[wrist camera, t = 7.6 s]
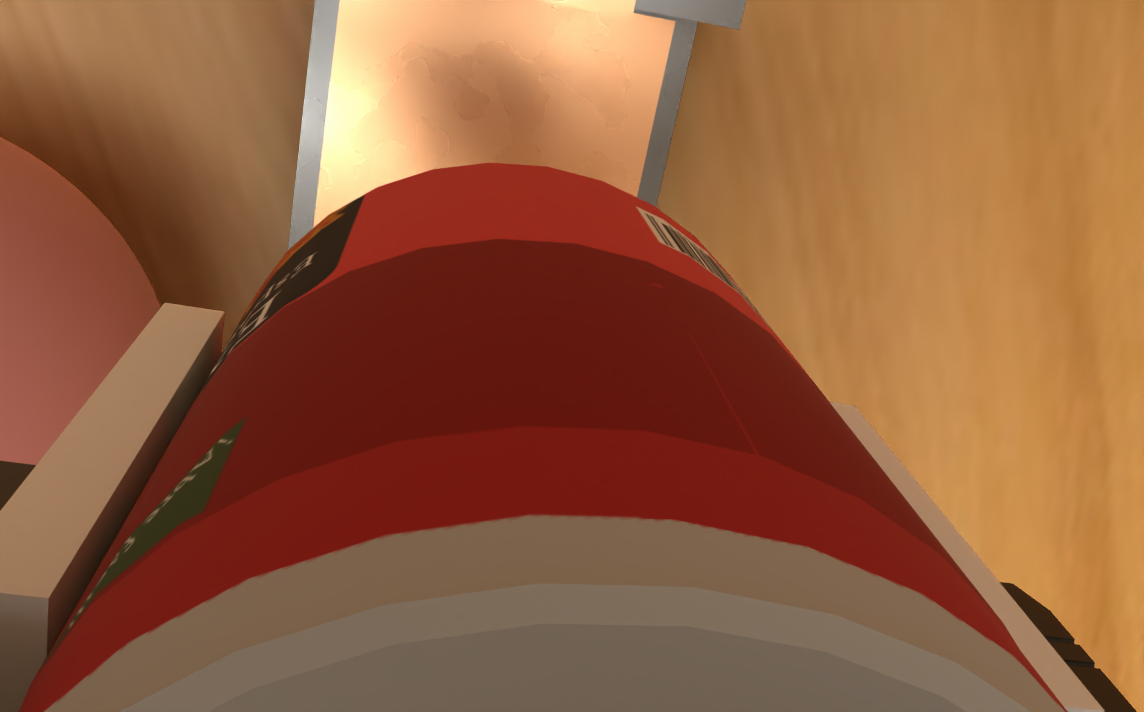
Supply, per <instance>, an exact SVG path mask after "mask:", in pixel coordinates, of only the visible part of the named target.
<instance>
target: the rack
mask: <svg viewBox="0 0 1144 712" xmlns="http://www.w3.org/2000/svg"><path fill="white" fill-rule="evenodd" d="M745 4H746V0H315V5H314V14H313V24H312V33H311V42H310V51H309V60H308V69H307V79H306V88H305V97H304V106H303V115H302V124H301V134H300V143H299V152H298V161H297V170H296V179H295V189H294V198H293V207H292V216H291V225H290V234H289V244H288V250H289V249H290V248H291V247H292V246H293V245H294V244H296V243H297V242H298V241H299V240H300V239H301V238H302V237H304V236H305V235H306V234H307V233H308V232H309V231H310V230H312V229H313V228H314V227H315V226H316V225H317V224H318V223H320V222H321V221H322V220H323V219H324V218H325V217H326V216H327V215H329V214H330V213H332V212H334V211H336V210H338V209H339V208H341V207H343V206H345V205H346V204H348V203H350V202H352V201H354V200H355V199H357V198H359V197H361V196H362V195H364V194H366V193H368V192H370V191H371V190H373V189H375V188H377V187H379V186H382V185H385V184H389V183H392V182H395V181H398V180H401V179H404V178H407V177H410V176H413V175H416V174H419V173H423V172H426V171H429V170H432V169H440V168H448V167H457V166H465V165H473V164H481V163H504V164H519V165H533V166H548V167H551V168H555V169H559V170H563V171H567V172H570V173H574V174H578V175H582V176H586V177H589V178H593V179H597V180H601V181H604V182H606V183H608V184H610V185H612V186H614V187H616V188H618V189H621V190H623V191H625V192H627V193H629V194H631V195H633V196H635V197H637V198H639V199H641V200H643V201H646V202H648V203H650V204H652V205H654V206H655V207H656V204H657V200H658V196H659V191H660V187H661V182H662V178H663V174H664V169H665V165H666V160H667V156H668V152H669V147H670V143H671V138H672V134H673V129H674V125H675V121H676V116H677V112H678V107H679V103H680V99H681V94H682V90H683V85H684V81H685V77H686V72H687V68H688V63H689V59H690V55H691V50H692V46H693V41H694V37H695V33H696V28H697V24H698V22H703V23H708V24H713V25H718V26H723V27H728V28H733V29H738V30H739V29H740V25H741V21H742V17H743V13H744V9H745Z"/></svg>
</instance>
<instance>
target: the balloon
mask: <svg viewBox="0 0 1144 712" xmlns="http://www.w3.org/2000/svg"><path fill="white" fill-rule="evenodd" d="M160 308H161V307H160V304H159V301H158V299H157V296H156V294H155V292H154V289H153V287H152V285H151V283H150V281H149V279H148V277H147V275H146V273H145V272H144V270H143V268H142V266H141V265H140V263H139V261H138V260H137V258H136V256H135V255H134V253H133V252H132V250H131V249H130V247H129V246H128V244H127V243H126V241H125V240H124V239H123V237H122V236H121V235H120V233H119V232H118V231H117V230H116V228H115V227H114V226H113V225H112V224H111V222H110V221H109V220H108V219H107V218H106V217H105V215H104V214H103V213H102V212H101V211H100V210H99V209H98V208H97V207H96V206H95V205H94V204H93V203H92V202H91V201H90V200H89V199H88V198H87V197H86V196H85V195H84V194H83V193H82V192H81V191H80V190H78V189H77V188H76V187H75V186H74V185H73V184H71V183H70V182H69V181H68V180H67V179H65V178H64V177H63V176H62V175H60V174H59V173H58V172H56V171H55V170H54V169H52V168H51V167H50V166H48V165H47V164H45V163H44V162H43V161H41V160H39V159H38V158H36V157H35V156H33V155H32V154H30V153H28V152H27V151H25V150H23V149H22V148H20V147H18V146H16V145H15V144H13V143H11V142H9V141H7V140H5V139H3V138H1V137H0V461H7V462H15V463H23V464H31V465H37V464H38V463H39V461H40V460H41V459H42V457H43V456H44V455H45V454H46V452H47V451H48V450H49V449H50V447H51V446H52V445H53V444H54V442H55V441H56V440H57V438H58V437H59V436H60V435H61V433H62V432H63V431H64V430H65V428H66V427H67V426H68V425H69V423H70V422H71V421H72V419H73V418H74V417H75V416H76V414H77V413H78V412H79V411H80V409H81V408H82V407H83V406H84V404H85V403H86V402H87V400H88V399H89V398H90V397H91V395H92V394H93V393H94V392H95V390H96V389H97V388H98V387H99V385H100V384H101V383H102V381H103V380H104V379H105V378H106V376H107V375H108V374H109V373H110V371H111V370H112V369H113V368H114V366H115V365H116V364H117V362H118V361H119V360H120V359H121V357H122V356H123V355H124V354H125V352H126V351H127V350H128V349H129V347H130V346H131V345H132V343H133V342H134V341H135V340H136V338H137V337H138V336H139V335H140V333H141V332H142V331H143V330H144V328H145V327H146V326H147V324H148V323H149V322H150V321H151V319H152V318H153V317H154V316H155V314H156V313H157V312H158V311H159V309H160Z"/></svg>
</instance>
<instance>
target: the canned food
mask: <svg viewBox="0 0 1144 712" xmlns="http://www.w3.org/2000/svg"><path fill="white" fill-rule="evenodd" d="M19 712H1068V711H1067V710H1066V709H1065V708H1064V706H1063V705H1062V704H1061V702H1060V701H1059V700H1058V698H1057V697H1056V696H1055V695H1054V693H1053V692H1052V691H1051V689H1050V688H1049V687H1048V686H1047V684H1046V683H1045V682H1044V680H1043V679H1042V678H1041V676H1040V675H1039V674H1038V673H1037V671H1036V670H1035V669H1034V667H1033V666H1032V665H1031V663H1030V662H1029V661H1028V660H1027V658H1026V657H1025V656H1024V654H1023V653H1022V652H1021V651H1020V649H1019V647H1018V646H1017V644H1016V643H1015V641H1014V639H1013V638H1012V636H1011V635H1010V633H1009V631H1008V630H1007V628H1006V627H1005V625H1004V623H1003V622H1002V621H1001V619H1000V618H999V617H998V616H997V614H996V613H995V612H994V611H993V609H992V608H991V607H990V606H989V604H988V603H987V602H986V600H985V599H984V598H983V597H982V595H981V594H980V593H979V592H978V590H977V589H976V588H975V586H974V585H973V584H972V583H971V581H970V580H969V579H968V578H967V576H966V575H965V574H964V572H963V571H962V570H961V569H960V567H959V566H958V565H957V564H956V562H955V561H954V560H953V559H952V557H951V556H950V555H949V553H948V552H947V551H946V550H945V548H944V547H943V546H942V545H941V543H940V542H939V541H938V539H937V538H936V537H935V536H934V534H933V533H932V532H931V531H930V529H929V528H928V527H927V525H926V524H925V523H924V522H923V520H922V519H921V518H920V517H919V515H918V514H917V513H916V511H915V510H914V509H913V508H912V506H911V505H910V504H909V503H908V501H907V500H906V499H905V498H904V496H903V495H902V494H901V492H900V491H899V490H898V489H897V487H896V486H895V485H894V484H893V482H892V481H891V480H890V478H889V477H888V476H887V475H886V473H885V472H884V471H883V470H882V468H881V467H880V466H879V464H878V463H877V462H876V461H875V459H874V458H873V457H872V456H871V454H870V453H869V452H868V451H867V449H866V448H865V447H864V445H863V444H862V443H861V442H860V440H859V439H858V438H857V437H856V435H855V434H854V433H853V431H852V430H851V429H850V428H849V426H848V425H847V424H846V423H845V421H844V420H843V419H842V417H841V416H840V415H839V414H838V412H837V411H836V410H835V409H834V407H833V406H832V405H831V403H830V402H829V401H828V400H827V398H826V397H825V396H824V395H823V393H822V392H821V391H820V390H819V388H818V387H817V386H816V384H815V383H814V382H813V381H812V379H811V378H810V377H809V376H808V374H807V373H806V372H805V370H804V369H803V368H802V367H801V365H800V364H799V363H798V362H797V360H796V359H795V358H794V356H793V355H792V354H791V353H790V351H789V350H788V349H787V348H786V346H785V345H784V344H783V343H782V341H781V340H780V339H779V337H778V336H777V335H776V334H775V332H774V331H773V330H772V329H771V327H770V326H769V325H768V323H767V322H766V321H765V320H764V318H763V317H762V316H761V315H760V313H759V312H758V311H757V309H756V308H755V307H754V306H753V304H752V303H751V302H750V301H749V299H748V298H747V297H746V295H745V294H744V293H743V292H742V290H741V289H740V288H739V287H738V285H737V284H736V283H735V282H734V280H733V279H732V278H731V276H730V275H729V274H728V273H727V272H726V271H725V270H724V268H723V267H722V266H721V265H720V264H719V263H718V262H717V261H716V259H715V258H714V257H713V256H712V255H711V254H710V253H709V252H708V250H707V249H706V248H705V247H704V246H703V245H702V244H701V242H700V241H699V240H698V239H697V238H696V237H695V236H694V235H692V234H691V233H690V232H688V231H687V230H686V229H684V228H683V227H682V226H680V225H679V224H678V223H676V222H675V221H674V220H672V219H671V218H670V217H668V216H667V215H666V214H664V213H663V212H662V211H660V210H659V209H658V208H656V207H655V206H654V205H652V204H650V203H648V202H646V201H643V200H641V199H639V198H637V197H635V196H633V195H631V194H629V193H627V192H625V191H623V190H621V189H618V188H616V187H614V186H612V185H610V184H608V183H606V182H604V181H601V180H597V179H593V178H589V177H586V176H582V175H578V174H574V173H570V172H567V171H563V170H559V169H555V168H551V167H548V166H533V165H519V164H504V163H481V164H473V165H465V166H457V167H448V168H440V169H432V170H429V171H426V172H423V173H419V174H416V175H413V176H410V177H407V178H404V179H401V180H398V181H395V182H392V183H389V184H385V185H382V186H379V187H377V188H375V189H373V190H371V191H370V192H368V193H366V194H364V195H362V196H361V197H359V198H357V199H355V200H354V201H352V202H350V203H348V204H346V205H345V206H343V207H341V208H339V209H338V210H336V211H334V212H332V213H330V214H329V215H327V216H326V217H325V218H324V219H323V220H322V221H321V222H320V223H318V224H317V225H316V226H315V227H314V228H313V229H312V230H310V231H309V232H308V233H307V234H306V235H305V236H304V237H302V238H301V239H300V240H299V241H298V242H297V243H296V244H294V245H293V246H292V247H291V248H290V249H289V250H288V251H287V252H286V254H285V255H284V256H283V258H282V259H281V260H280V262H279V263H278V264H277V266H276V267H275V269H274V270H273V271H272V273H271V274H270V275H269V277H268V278H267V279H266V281H265V282H264V284H263V285H262V286H261V288H260V289H259V290H258V292H257V293H256V295H255V297H254V298H253V300H252V302H251V304H250V305H249V307H248V309H247V311H246V312H245V314H244V316H243V318H242V319H241V321H240V323H239V324H238V326H237V328H236V330H235V331H234V333H233V335H232V337H231V338H230V340H229V342H228V344H227V345H226V347H225V349H224V350H223V352H222V354H221V356H220V357H219V359H218V361H217V363H216V364H215V366H214V368H213V370H212V371H211V373H210V375H209V376H208V378H207V380H206V382H205V383H204V385H203V387H202V389H201V390H200V392H199V394H198V395H197V397H196V399H195V401H194V402H193V404H192V406H191V408H190V409H189V411H188V413H187V415H186V416H185V418H184V420H183V421H182V423H181V425H180V427H179V428H178V430H177V432H176V434H175V435H174V437H173V439H172V441H171V442H170V444H169V446H168V447H167V449H166V451H165V453H164V454H163V456H162V458H161V460H160V461H159V463H158V465H157V467H156V468H155V470H154V472H153V473H152V475H151V477H150V479H149V480H148V482H147V484H146V486H145V487H144V489H143V491H142V492H141V494H140V496H139V498H138V499H137V501H136V503H135V505H134V506H133V508H132V510H131V512H130V513H129V515H128V517H127V518H126V520H125V522H124V524H123V525H122V527H121V529H120V531H119V532H118V534H117V536H116V538H115V539H114V541H113V543H112V544H111V546H110V548H109V550H108V551H107V553H106V555H105V557H104V558H103V560H102V562H101V564H100V565H99V567H98V569H97V570H96V572H95V574H94V576H93V577H92V579H91V581H90V583H89V584H88V586H87V588H86V590H85V591H84V593H83V595H82V596H81V598H80V600H79V602H78V603H77V605H76V607H75V609H74V610H73V612H72V614H71V615H70V617H69V619H68V621H67V622H66V624H65V626H64V628H63V629H62V631H61V633H60V635H59V636H58V638H57V640H56V641H55V643H54V645H53V647H52V648H51V650H50V652H49V654H48V655H47V657H46V659H45V661H44V662H43V664H42V666H41V667H40V669H39V671H38V673H37V674H36V676H35V678H34V680H33V681H32V683H31V685H30V687H29V689H28V692H27V694H26V696H25V699H24V701H23V703H22V706H21V708H20V710H19Z"/></svg>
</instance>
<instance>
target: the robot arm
mask: <svg viewBox="0 0 1144 712" xmlns="http://www.w3.org/2000/svg"><path fill="white" fill-rule="evenodd" d="M224 315H225V312H224V311H218V310H211V309H204V308H198V307H191V306H184V305H177V304H171V303H164V304H163V305H162V307H161V308H160V309H159V311H158V312H157V313H156V314H155V316H154V317H153V318H152V319H151V321H150V322H149V323H148V324H147V326H146V327H145V328H144V330H143V331H142V332H141V333H140V335H139V336H138V337H137V338H136V340H135V341H134V342H133V343H132V345H131V346H130V347H129V349H128V350H127V351H126V352H125V354H124V355H123V356H122V357H121V359H120V360H119V361H118V362H117V364H116V365H115V366H114V368H113V369H112V370H111V371H110V373H109V374H108V375H107V376H106V378H105V379H104V380H103V381H102V383H101V384H100V385H99V387H98V388H97V389H96V390H95V392H94V393H93V394H92V395H91V397H90V398H89V399H88V400H87V402H86V403H85V404H84V406H83V407H82V408H81V409H80V411H79V412H78V413H77V414H76V416H75V417H74V418H73V419H72V421H71V422H70V423H69V425H68V426H67V427H66V428H65V430H64V431H63V432H62V433H61V435H60V436H59V437H58V438H57V440H56V441H55V442H54V444H53V445H52V446H51V447H50V449H49V450H48V451H47V452H46V454H45V455H44V456H43V457H42V459H41V460H40V461H39V463H38V464H37V465H31V464H23V463H15V462H7V461H0V712H19V710H20V708H21V706H22V703H23V701H24V699H25V696H26V694H27V692H28V689H29V687H30V685H31V683H32V681H33V680H34V678H35V676H36V674H37V673H38V671H39V669H40V667H41V666H42V664H43V662H44V661H45V659H46V657H47V655H48V654H49V652H50V650H51V648H52V647H53V645H54V643H55V641H56V640H57V638H58V636H59V635H60V633H61V631H62V629H63V628H64V626H65V624H66V622H67V621H68V619H69V617H70V615H71V614H72V612H73V610H74V609H75V607H76V605H77V603H78V602H79V600H80V598H81V596H82V595H83V593H84V591H85V590H86V588H87V586H88V584H89V583H90V581H91V579H92V577H93V576H94V574H95V572H96V570H97V569H98V567H99V565H100V564H101V562H102V560H103V558H104V557H105V555H106V553H107V551H108V550H109V548H110V546H111V544H112V543H113V541H114V539H115V538H116V536H117V534H118V532H119V531H120V529H121V527H122V525H123V524H124V522H125V520H126V518H127V517H128V515H129V513H130V512H131V510H132V508H133V506H134V505H135V503H136V501H137V499H138V498H139V496H140V494H141V492H142V491H143V489H144V487H145V486H146V484H147V482H148V480H149V479H150V477H151V475H152V473H153V472H154V470H155V468H156V467H157V465H158V463H159V461H160V460H161V458H162V456H163V454H164V453H165V451H166V449H167V447H168V446H169V444H170V442H171V441H172V439H173V437H174V435H175V434H176V432H177V430H178V428H179V427H180V425H181V423H182V421H183V420H184V418H185V416H186V415H187V413H188V411H189V409H190V408H191V406H192V404H193V402H194V401H195V399H196V397H197V395H198V394H199V392H200V390H201V389H202V387H203V385H204V383H205V382H206V380H207V378H208V376H209V375H210V373H211V371H212V370H213V368H214V366H215V364H216V363H217V361H218V359H219V357H220V356H221V348H222V337H223V326H224ZM830 403H831V405H832V406H833V407H834V409H835V410H836V411H837V412H838V414H839V415H840V416H841V417H842V419H843V420H844V421H845V423H846V424H847V425H848V426H849V428H850V429H851V430H852V431H853V433H854V434H855V435H856V437H857V438H858V439H859V440H860V442H861V443H862V444H863V445H864V447H865V448H866V449H867V451H868V452H869V453H870V454H871V456H872V457H873V458H874V459H875V461H876V462H877V463H878V464H879V466H880V467H881V468H882V470H883V471H884V472H885V473H886V475H887V476H888V477H889V478H890V480H891V481H892V482H893V484H894V485H895V486H896V487H897V489H898V490H899V491H900V492H901V494H902V495H903V496H904V498H905V499H906V500H907V501H908V503H909V504H910V505H911V506H912V508H913V509H914V510H915V511H916V513H917V514H918V515H919V517H920V518H921V519H922V520H923V522H924V523H925V524H926V525H927V527H928V528H929V529H930V531H931V532H932V533H933V534H934V536H935V537H936V538H937V539H938V541H939V542H940V543H941V545H942V546H943V547H944V548H945V550H946V551H947V552H948V553H949V555H950V556H951V557H952V559H953V560H954V561H955V562H956V564H957V565H958V566H959V567H960V569H961V570H962V571H963V572H964V574H965V575H966V576H967V578H968V579H969V580H970V581H971V583H972V584H973V585H974V586H975V588H976V589H977V590H978V592H979V593H980V594H981V595H982V597H983V598H984V599H985V600H986V602H987V603H988V604H989V606H990V607H991V608H992V609H993V611H994V612H995V613H996V614H997V616H998V617H999V618H1000V619H1001V621H1002V622H1003V623H1004V625H1005V627H1006V628H1007V630H1008V631H1009V633H1010V635H1011V636H1012V638H1013V639H1014V641H1015V643H1016V644H1017V646H1018V647H1019V649H1020V651H1021V652H1022V653H1023V654H1024V656H1025V657H1026V658H1027V660H1028V661H1029V662H1030V663H1031V665H1032V666H1033V667H1034V669H1035V670H1036V671H1037V673H1038V674H1039V675H1040V676H1041V678H1042V679H1043V680H1044V682H1045V683H1046V684H1047V686H1048V687H1049V688H1050V689H1051V691H1052V692H1053V693H1054V695H1055V696H1056V697H1057V698H1058V700H1059V701H1060V702H1061V704H1062V705H1063V706H1064V708H1065V709H1066V710H1067V711H1068V712H1137V711H1136V710H1135V709H1134V708H1133V707H1132V706H1131V704H1130V703H1129V702H1128V701H1127V700H1126V699H1125V697H1124V696H1123V695H1122V694H1121V693H1120V692H1119V691H1118V689H1117V688H1116V687H1115V686H1114V685H1113V684H1112V682H1111V681H1110V680H1109V679H1108V678H1107V677H1106V675H1105V674H1104V673H1103V672H1102V671H1101V670H1100V669H1098V668H1094V661H1093V660H1092V659H1091V658H1090V657H1089V656H1088V654H1087V653H1086V652H1085V651H1084V650H1083V649H1082V647H1081V646H1080V645H1076V644H1074V638H1073V637H1072V636H1071V635H1070V633H1069V632H1068V631H1067V630H1066V629H1065V628H1064V626H1063V625H1062V624H1061V623H1060V622H1059V621H1058V619H1057V618H1056V617H1055V616H1054V615H1053V614H1052V613H1051V611H1050V610H1048V609H1047V608H1046V607H1044V606H1043V605H1041V604H1040V603H1039V602H1037V601H1036V600H1035V599H1033V598H1032V597H1030V596H1029V595H1028V594H1026V593H1025V592H1024V591H1022V590H1021V589H1019V588H1018V587H1017V586H1015V585H1014V584H1011V583H1003V582H999V581H998V580H997V579H996V577H995V576H994V575H993V574H992V573H991V571H990V570H989V569H988V568H987V567H986V565H985V564H984V563H983V562H982V560H981V559H980V558H979V557H978V556H977V554H976V553H975V552H974V551H973V549H972V548H971V547H970V546H969V545H968V543H967V542H966V541H965V540H964V538H963V537H962V536H961V535H960V534H959V532H958V531H957V530H956V529H955V527H954V526H953V525H952V524H951V523H950V521H949V520H948V519H947V518H946V516H945V515H944V514H943V513H942V512H941V510H940V509H939V508H938V507H937V505H936V504H935V503H934V502H933V501H932V499H931V498H930V497H929V496H928V494H927V493H926V492H925V491H924V490H923V488H922V487H921V486H920V485H919V483H918V482H917V481H916V480H915V479H914V477H913V476H912V475H911V474H910V473H909V471H908V470H907V469H906V468H905V466H904V465H903V464H902V463H901V462H900V460H899V459H898V458H897V457H896V455H895V454H894V453H893V452H892V451H891V449H890V448H889V447H888V446H887V444H886V443H885V442H884V441H883V440H882V438H881V437H880V436H879V435H878V433H877V432H876V431H875V430H874V429H873V427H872V426H871V425H870V424H869V422H868V421H867V420H866V419H865V418H864V416H863V415H862V414H861V413H860V411H859V410H858V409H857V408H856V407H855V406H854V405H847V404H840V403H834V402H830Z"/></svg>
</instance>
